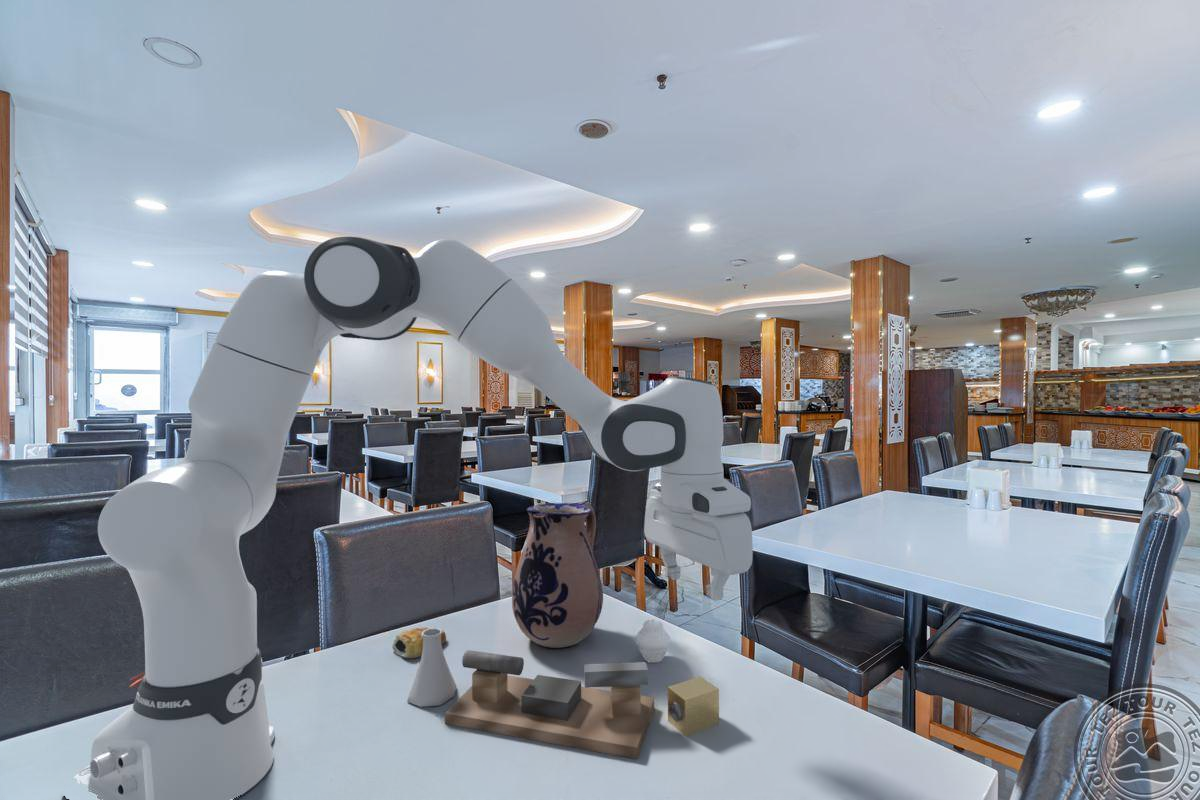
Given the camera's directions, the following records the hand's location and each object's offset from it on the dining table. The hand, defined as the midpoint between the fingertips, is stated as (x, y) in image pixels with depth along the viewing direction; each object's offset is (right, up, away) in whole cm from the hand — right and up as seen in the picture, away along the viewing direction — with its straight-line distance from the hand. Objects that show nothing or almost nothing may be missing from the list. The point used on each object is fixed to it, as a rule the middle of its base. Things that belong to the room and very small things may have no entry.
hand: (692, 587), depth 78 cm
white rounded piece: (-4, -19, +19) cm, 27 cm away
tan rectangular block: (0, -19, 0) cm, 19 cm away
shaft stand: (-20, -19, +2) cm, 28 cm away
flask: (-39, -20, +7) cm, 45 cm away
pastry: (-47, -20, +23) cm, 56 cm away
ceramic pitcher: (-21, -19, +29) cm, 41 cm away
